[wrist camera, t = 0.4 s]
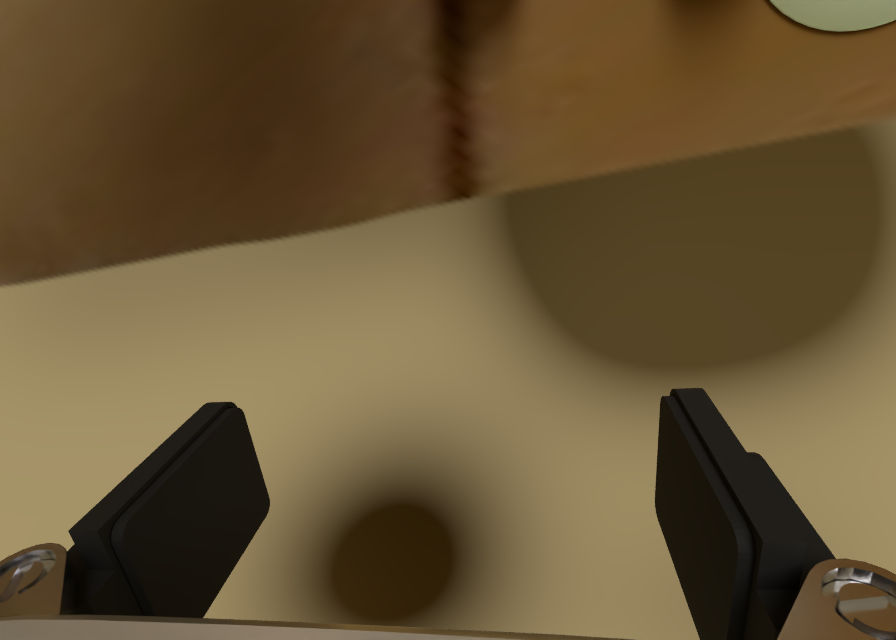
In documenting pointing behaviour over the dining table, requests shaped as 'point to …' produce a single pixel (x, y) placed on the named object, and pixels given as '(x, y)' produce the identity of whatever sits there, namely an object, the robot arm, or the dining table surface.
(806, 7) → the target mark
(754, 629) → the robot arm
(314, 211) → the dining table surface
